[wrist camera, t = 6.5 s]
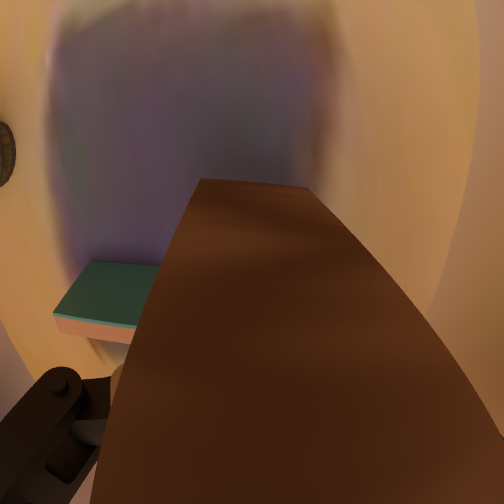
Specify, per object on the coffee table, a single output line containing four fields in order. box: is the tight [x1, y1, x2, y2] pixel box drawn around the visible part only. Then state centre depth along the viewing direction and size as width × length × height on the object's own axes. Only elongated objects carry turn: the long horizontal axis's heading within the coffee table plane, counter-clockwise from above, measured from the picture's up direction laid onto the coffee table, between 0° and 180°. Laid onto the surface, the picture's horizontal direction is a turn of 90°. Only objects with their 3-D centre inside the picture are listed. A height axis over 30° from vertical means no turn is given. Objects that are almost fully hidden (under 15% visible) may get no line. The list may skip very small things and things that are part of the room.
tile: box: [53, 261, 160, 344], centre depth 26 cm, size 9×2×10 cm, turn 84°
